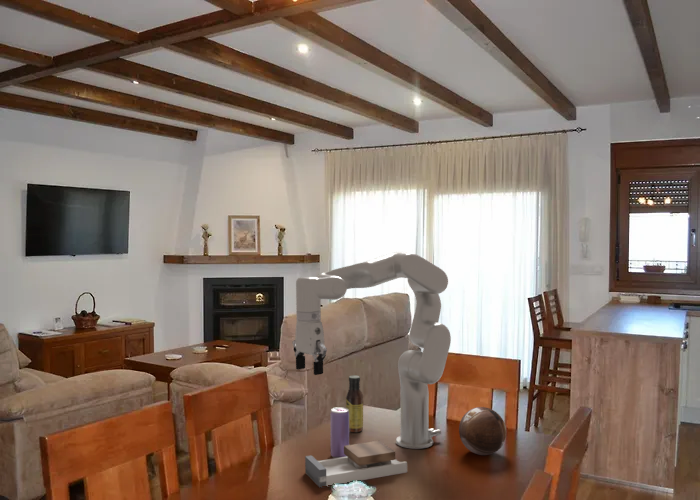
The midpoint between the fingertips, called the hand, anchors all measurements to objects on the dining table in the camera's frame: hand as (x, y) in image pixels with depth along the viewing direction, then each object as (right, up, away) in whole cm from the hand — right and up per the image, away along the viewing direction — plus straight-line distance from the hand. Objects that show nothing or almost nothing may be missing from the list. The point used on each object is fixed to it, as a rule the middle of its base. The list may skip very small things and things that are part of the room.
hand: (309, 371), depth 195 cm
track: (+14, -29, -7) cm, 33 cm away
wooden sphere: (+56, -29, +9) cm, 63 cm away
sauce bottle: (+14, -28, +33) cm, 46 cm away
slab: (+18, -27, -6) cm, 33 cm away
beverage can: (+9, -29, +7) cm, 31 cm away
